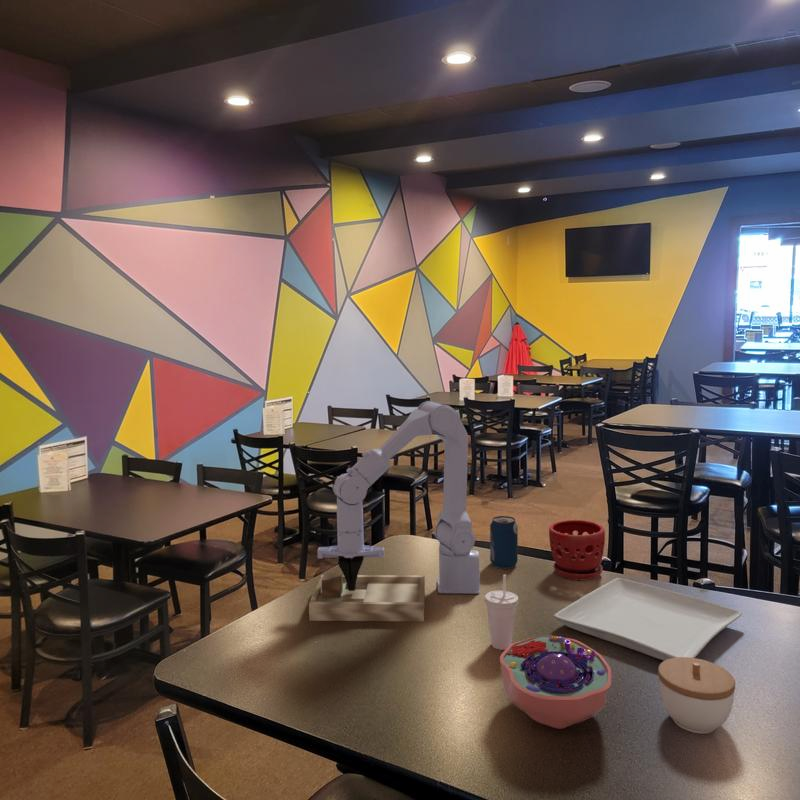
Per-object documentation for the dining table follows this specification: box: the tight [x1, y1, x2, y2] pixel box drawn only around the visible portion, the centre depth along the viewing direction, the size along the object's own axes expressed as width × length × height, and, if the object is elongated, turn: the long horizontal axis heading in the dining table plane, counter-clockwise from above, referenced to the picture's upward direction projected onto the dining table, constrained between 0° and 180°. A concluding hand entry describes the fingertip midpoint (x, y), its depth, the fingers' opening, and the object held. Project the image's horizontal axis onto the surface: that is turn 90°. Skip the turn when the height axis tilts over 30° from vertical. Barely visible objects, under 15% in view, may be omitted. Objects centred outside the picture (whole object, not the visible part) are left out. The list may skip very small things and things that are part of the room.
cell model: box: [499, 635, 612, 729], centre depth 104 cm, size 17×20×11 cm
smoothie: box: [484, 573, 519, 651], centre depth 126 cm, size 6×6×14 cm
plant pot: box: [548, 519, 606, 581], centre depth 162 cm, size 13×13×12 cm
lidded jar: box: [657, 657, 736, 735], centre depth 101 cm, size 11×11×9 cm
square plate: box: [553, 577, 743, 662], centre depth 133 cm, size 27×27×4 cm
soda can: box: [489, 515, 519, 570], centre depth 169 cm, size 7×7×12 cm
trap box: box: [308, 574, 426, 622], centre depth 146 cm, size 24×16×4 cm, turn 87°
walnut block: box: [322, 572, 343, 598], centre depth 146 cm, size 4×4×4 cm
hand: (352, 589), depth 146 cm, fingers closed
